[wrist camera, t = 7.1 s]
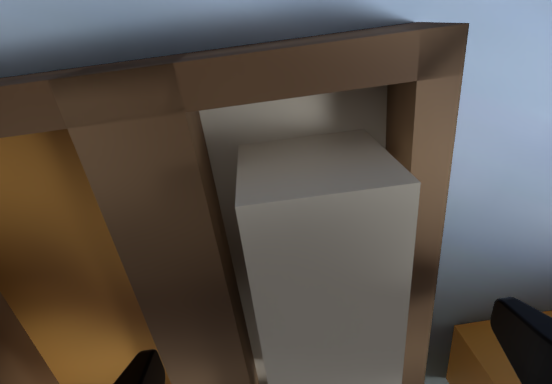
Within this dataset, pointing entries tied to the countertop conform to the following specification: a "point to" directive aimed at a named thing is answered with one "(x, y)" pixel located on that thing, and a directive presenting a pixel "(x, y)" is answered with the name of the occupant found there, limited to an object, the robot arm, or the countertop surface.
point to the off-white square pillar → (328, 256)
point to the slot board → (194, 194)
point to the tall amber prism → (479, 356)
